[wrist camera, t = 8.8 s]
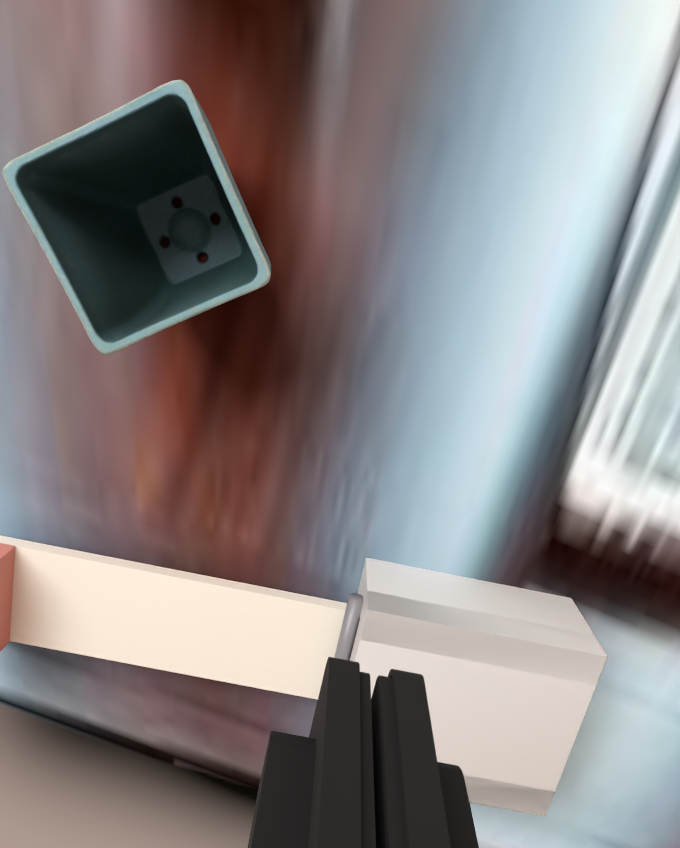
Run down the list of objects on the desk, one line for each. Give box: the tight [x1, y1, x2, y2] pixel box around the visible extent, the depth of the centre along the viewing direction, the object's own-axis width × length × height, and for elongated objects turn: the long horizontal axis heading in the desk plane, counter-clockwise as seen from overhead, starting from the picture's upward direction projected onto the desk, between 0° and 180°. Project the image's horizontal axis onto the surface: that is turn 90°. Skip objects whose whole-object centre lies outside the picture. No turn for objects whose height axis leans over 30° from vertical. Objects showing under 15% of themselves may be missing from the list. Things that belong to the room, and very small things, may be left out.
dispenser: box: [334, 558, 608, 816], centre depth 39 cm, size 15×12×6 cm
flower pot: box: [2, 80, 271, 354], centre depth 30 cm, size 9×9×9 cm
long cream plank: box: [0, 536, 347, 700], centre depth 36 cm, size 26×7×6 cm, turn 78°
